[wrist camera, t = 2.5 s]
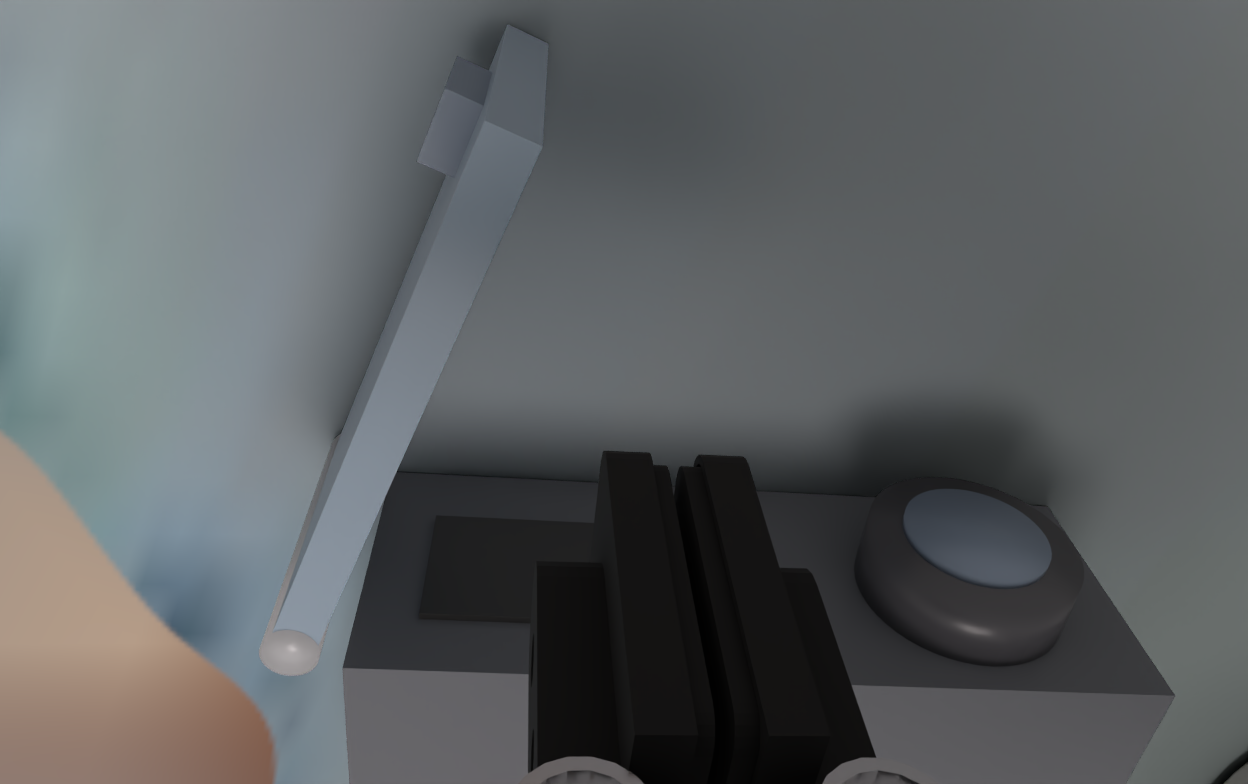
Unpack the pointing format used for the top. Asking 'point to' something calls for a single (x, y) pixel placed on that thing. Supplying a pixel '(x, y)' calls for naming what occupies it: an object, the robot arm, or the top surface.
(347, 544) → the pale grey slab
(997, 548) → the camera body
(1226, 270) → the top surface
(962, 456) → the top surface
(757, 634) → the robot arm
